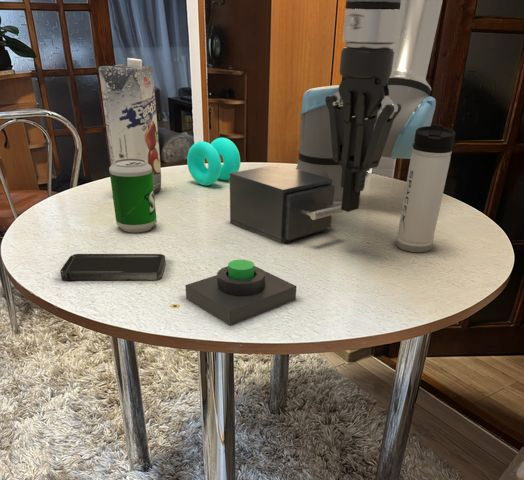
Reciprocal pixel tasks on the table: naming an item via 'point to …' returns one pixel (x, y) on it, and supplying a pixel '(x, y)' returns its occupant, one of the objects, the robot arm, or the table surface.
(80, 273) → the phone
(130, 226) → the soda can
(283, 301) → the panel
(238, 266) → the button
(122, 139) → the juice carton
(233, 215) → the cabinet
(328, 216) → the drawer
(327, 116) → the robot arm
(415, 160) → the travel mug
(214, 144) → the donuts
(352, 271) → the table surface
